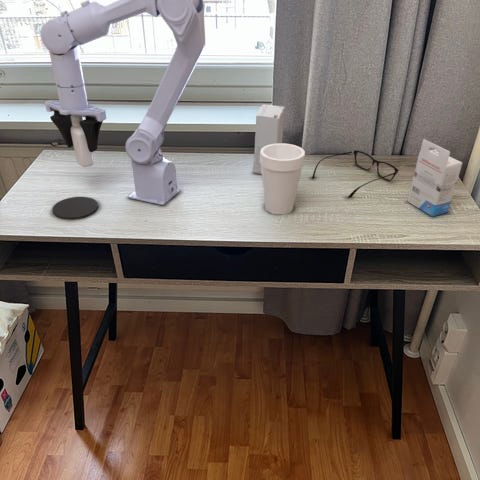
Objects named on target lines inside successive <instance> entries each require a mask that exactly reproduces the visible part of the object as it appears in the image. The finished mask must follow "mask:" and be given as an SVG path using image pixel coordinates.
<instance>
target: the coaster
mask: <svg viewBox="0 0 480 480" xmlns="http://www.w3.org/2000/svg"><path fill="white" fill-rule="evenodd" d="M98 209H99V202H98V201H97V200H96V199H94V198H92V197H87V196H73V197H67V198H65V199H62V200H60V201H58V202H56V203H55V204H54V205H53V206H52V209H51V211H52V214H53V216H55V217H56V218H57V219H61V220H79V219H84V218H87V217H90V216H92V215H93V214H95V213H96V212H97V211H98Z"/></svg>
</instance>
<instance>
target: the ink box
mask: <svg viewBox="0 0 480 480" xmlns="http://www.w3.org/2000/svg"><path fill="white" fill-rule="evenodd" d="M417 156H418V157H417V160H416V165H415V169H414V173H413V178H412V182H411V185H410V191H409V194H408V199H407V202H408V203H410V204H411V205H412V206H414V207H415V208H417V209H419V210H420V211H422V212H424V213H425V214H427V215H428V216H430V217H436V216H441V215H443V214H446V213H449V211H450V208H451V203H452V200H453V198H454V197H453V196H454V193H455V190H456V186H457V182H458V181H459V180H458V179H459V177H460V173H461V169H462V166H463V161H460V160H458V159H456V158H454V157H453V156H451V151H450V150H448V149H445V148H444V147H442V146H440V145H438V144H435V143H433V142H431V141H429V140H427V139H426V138H424V139H423V140H422V142H421V146H420V150H419V153H418V155H417Z"/></svg>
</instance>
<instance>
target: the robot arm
mask: <svg viewBox="0 0 480 480" xmlns="http://www.w3.org/2000/svg"><path fill="white" fill-rule="evenodd" d="M80 6H81V7H78V8H76V9H74V10H71V11H69V12H68V11H67V10H64V11H61V12H60V16H57V17H55V18H52V19H48V20H47V21H46V22H45V23H43V25H42V27H41V28H40V39H41V41H42V44H43V46H44V47H45V48H46V49H47V50H48V52H49V57H50V62H51V67H52V72H53V77H54V83H55V86H56V92H57V96H58V100H56V99H55V100H53V99H50V100H49V99H48V100H47V101H45V102H44V106H45V111H46V112H48V113H52V112H53V115H51V116H50V121H51V122H52V123H53V124H54V126H55V127H56V128H57V129H58V131H59V133H60V134H61V136H62V139H63V141H64V142H65V144H66V146H67V148H72V147H74V146H73V141H72V136H71V127H72V126H73V125H72V121H71V115H73V114H74V115H78V116H81V117H82V118H83V120H82V121H80V122H79V124H80V126H81V127H82V129H83V132H84V134H85V137H86V141H87V146H88V149H89V152H92V153H94V152H96V151H97V150H98V143H99V135H100V131H101V127H102V125H103V122H104V121H105V120H107V113H106V109H103V108H99V107H97V106H95V105H92V104H90V103H89V102H88V96H87V91H86V90H87V89H86V86H85V85H86V84H85V79H84V73H83V67H82V61H81V58H80V51H79V46H83V45H85V44H88V43H91V42H93V41H95V40H97V39H100V38H102V37H106V36H108V35H109V34H110V32H111V30H112V29H111V28H112V25H114V24H116V23H120V22H122V21H125V20H127V19H128V20H129V19H131V18H133V17H137V16H139V15H141V14H144V13H146V14H148V15H150V16H152V17H155V18H158V17H161V18H162V20H163V21H164V22H165V24H166V25H167V26H168V27H169V29H170V30H171V31H172V34H173V37H174V39H175V42H176V49H175V51H174V53H173V55H172V57H171V59H170V62H169V64H168V65H167V67H166V70H165V72H164V75H163V76H162V79H161V81H160V82H159V85H158V87H157V89H156V91H155V94H154V96H153V98H152V100H151V102H150V104H149V106H148V109H147V111H146V113H145V114H144V116H143V119H142V121H141V122H140V123H139V125H138V127H136V130H135V131H134V132H133V133H132V135H131V136H130V137H128V138H127V140H126V142H125V153H126V155H127V156H128V158H129V159H130V163H131V168H132V169H131V170H132V175H133V176H132V177H133V183H134V191H132V192H131V193H130V194H128V198H129V199H132V200H136V201H141V202H145V203H150V204H155V205H160V206H164V205H165V204H167V203H168V202H169V201H170V200H171V199H173V197H175V196H176V195H177V194H178V193H179V192H180V190H179V188H178V180H177V169H176V165H175V163H174V162H173V161H170V160H168V159H166V158H165V157H164V153H163V151H162V149H161V146H162V145H163V144H164V143H163V142H164V139H165V129H166V127H167V125H168V122H169V119H170V118H171V116H172V114H173V111H174V110H175V107H176V105H177V103H178V102H179V100H180V98H181V95H182V94H183V91H184V90H185V88H186V86H187V84H188V82H189V79H190V78H191V76H192V73H193V72H194V71H195V68H196V66H197V63H198V61H199V60H200V58H201V56H202V54H203V51H204V50H205V47H206V28H205V27H206V26H205V1H204V0H115V1H113V2H112V3H109V4H107V5H104V4H102V3H100V2H97V1H92V2H90V0H84V1H83V2H80Z"/></svg>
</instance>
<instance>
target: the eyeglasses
mask: <svg viewBox="0 0 480 480" xmlns="http://www.w3.org/2000/svg"><path fill="white" fill-rule="evenodd" d="M352 153H353V155H354V164H355V166H357V167H358V168H360V169H362V170H365V171H370V170H371V169H372V168H373V166H374V165H375V164H376V167H375V171H376V173H377V176H379V177H378V178H375V179H372V180H371V181H368V182H366V183H364V184H362V185H359V186H358V187H357V188H355V189H354V190H353V191H352V192H351V193H350V194H349V195H348V196H347V198H348V199H349V198H350V199H351V198H352V197H354V195H355V194H356V192H357V191H358V190H359V189H361V188H362V187H364V186H366V185H368V184H370V183H372V182H376V181H378V180H381V179H383V180H386V181H389V182H391V181H393V180H394V178H395V176H396V175H397V174H399V173H400V171H399V169H398V168H397V167H396V166H395V165H392V164H391V163H389V162H386V161H381V160H377V159H375V158H374V157H372V156H371V155H369V154H368V153H366V152H364V151H362V150H356V149H355V150H353V151H352V150H351V151H348V152H343V153H338V154H333V155H329V156H326V157H324V158H322V159H321V160H319V161H318V162H317V164H316V165H315V168H314V169H313V172H312V177H311V179H315V176H316V171H317V169H318V166H319V164H320V163H321V162H322V161H324V160H325V159H328V158H332V157H338V156H343V155H348V154H352ZM358 154H363V155H364V156H367V157H368V158H370V159H371V161H372V163H371V165H370V166H369V168H364V167H362V166H360V165H359V164H358V162H357V161H358V160H357V155H358ZM380 164H384V165H387V166H389V167H390V168H392V169H393V170H394V172H392V173H389V174H387V175H384V176H382V175H381V174H380V171H379V165H380ZM389 176H392V177H391V178H390V179H388V178H387V177H389Z"/></svg>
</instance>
